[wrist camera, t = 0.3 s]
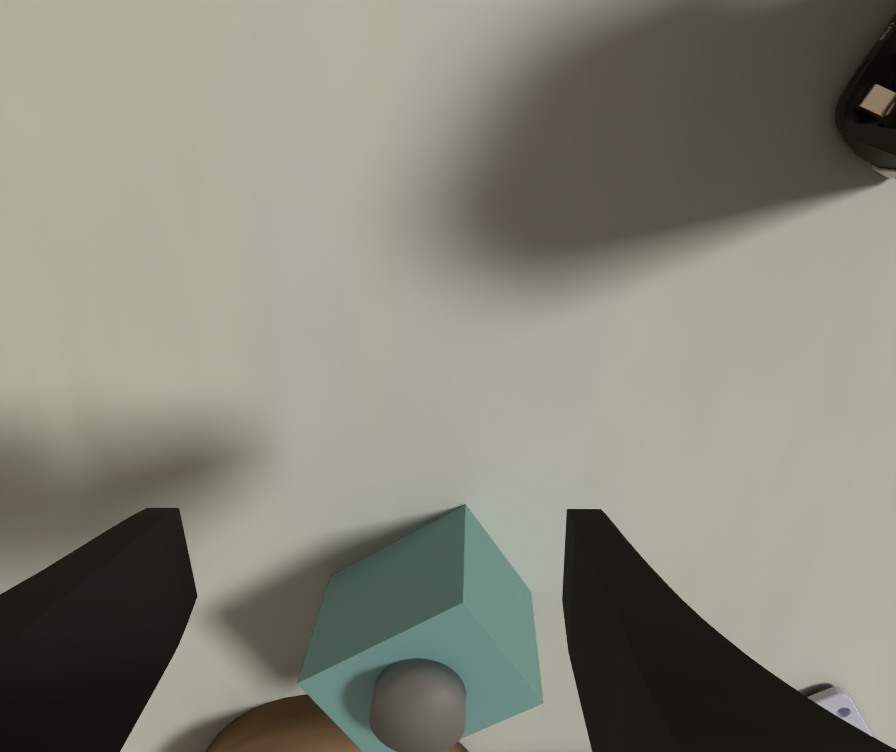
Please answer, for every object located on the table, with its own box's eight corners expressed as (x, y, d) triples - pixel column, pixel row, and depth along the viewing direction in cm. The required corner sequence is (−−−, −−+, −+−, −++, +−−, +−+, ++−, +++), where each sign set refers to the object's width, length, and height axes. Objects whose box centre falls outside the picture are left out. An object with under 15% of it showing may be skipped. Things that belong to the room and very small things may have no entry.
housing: (530, 590, 25) (546, 732, 19) (399, 653, 26) (378, 802, 20) (465, 503, 23) (462, 628, 18) (330, 574, 25) (288, 711, 19)
